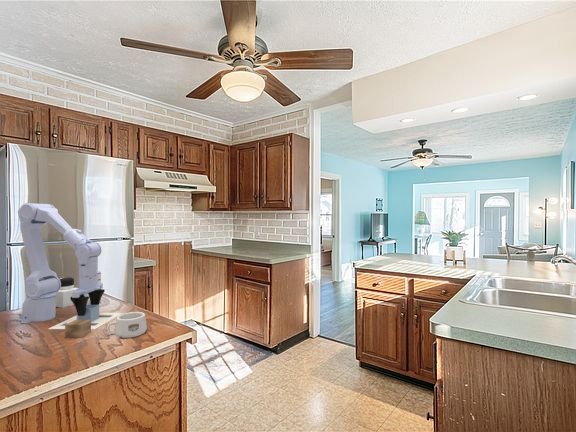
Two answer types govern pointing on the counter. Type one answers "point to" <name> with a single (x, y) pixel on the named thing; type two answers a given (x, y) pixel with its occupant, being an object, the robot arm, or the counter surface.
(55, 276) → the robot arm
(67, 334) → the block
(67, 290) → the medicine bottle
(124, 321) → the mug
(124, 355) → the counter surface
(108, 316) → the letter board
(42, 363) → the counter surface
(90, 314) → the blue cube
